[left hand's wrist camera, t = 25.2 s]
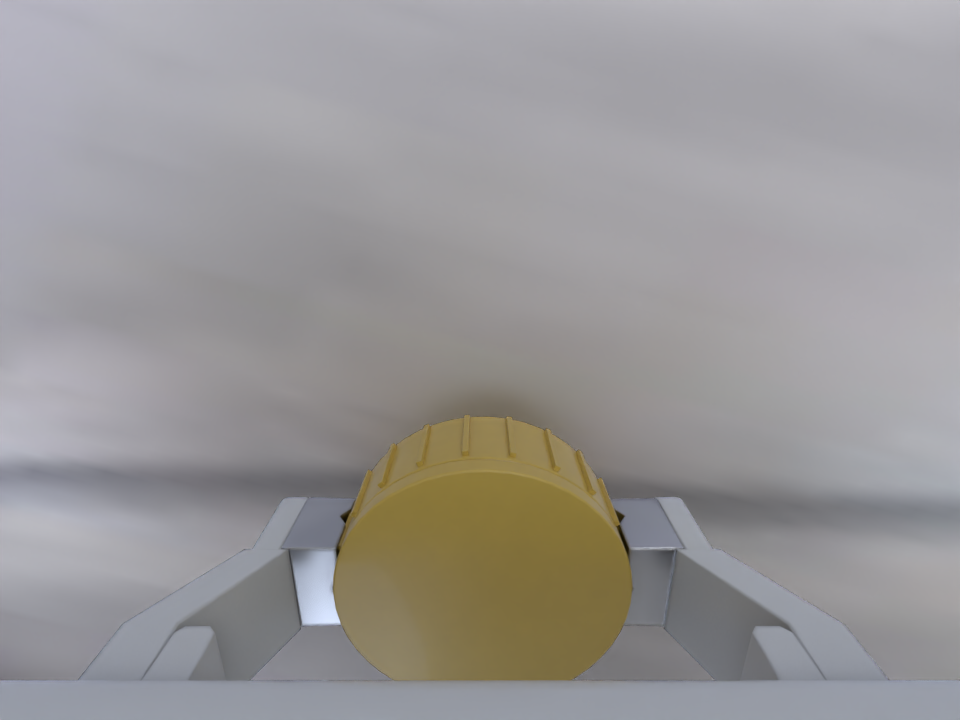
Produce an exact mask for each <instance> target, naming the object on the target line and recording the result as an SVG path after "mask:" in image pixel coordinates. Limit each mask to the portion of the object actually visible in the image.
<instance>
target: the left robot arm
mask: <svg viewBox="0 0 960 720" xmlns="http://www.w3.org/2000/svg"><path fill="white" fill-rule="evenodd" d="M610 500H611V502H612V505H613V507H614V510H615V512H616V515H617V517H618V520H619V522H620V525H618V527H619V534H620V537H621V540H622V543H623V545H624V547H625V550H626V553H627V555H628V559H629V563H630V567H631V572H632V596H631V604H630V608H629V611H628V615H627V618H626V621H625V623H624V625H634V626H664V629H665V630H666V631H667V632H668V633H669V634H670V635H671V636H672V637H673V638H674V639H675V640H676V641H677V642H678V643H679V644H680V645H681V646H682V647H683V648H684V649H685V650H686V651H687V652H688V653H689V654H690V655H691V656H692V657H693V658H694V659H695V660H696V661H697V662H698V663H699V664H700V665H701V666H702V667H703V668H704V669H705V670H706V671H707V672H708V673H709V674H710V675H711V676H712V677H713V678H714V679H715V680H716V681H680V680H416V681H250V680H251V679H252V678H253V677H254V676H255V675H256V674H257V673H258V672H259V671H260V670H261V669H262V668H263V667H264V666H265V665H266V664H267V663H268V661H269V660H270V659H271V658H272V657H273V656H274V655H275V654H276V653H277V652H278V651H279V650H280V649H281V648H282V647H283V646H284V645H285V644H286V643H287V642H288V641H289V640H290V639H291V638H292V637H293V636H294V635H295V634H296V633H297V632H298V631H299V630H300V629H301V627H300V626H330V625H341V623H340V620H339V617H338V614H337V611H336V608H335V602H334V595H333V575H334V569H335V564H336V560H337V557H338V554H339V552H340V550H339V544H340V541H341V539H342V536H343V533H344V531H345V528H346V525H345V524H346V521H347V519H348V516H349V513H351V511H352V509H353V506H354V503H355V501H356V498H321V497H311V498H309V497H287V498H285V499H283V500H282V501H281V502H280V504H279V506H278V507H277V509H276V511H275V512H274V514H273V516H272V517H271V519H270V520H269V522H268V524H267V525H266V527H265V529H264V530H263V532H262V534H261V535H260V537H259V539H258V540H257V542H256V543H255V545H254V547H253V548H252V549H244V550H243V551H241V552H239V553H238V554H236V555H234V556H233V557H231V558H230V559H228V560H226V561H225V562H223V563H221V564H220V565H218V566H216V567H215V568H213V569H211V570H210V571H208V572H207V573H205V574H203V575H202V576H200V577H198V578H197V579H195V580H193V581H192V582H190V583H189V584H187V585H185V586H184V587H182V588H180V589H179V590H177V591H175V592H174V593H172V594H171V595H169V596H167V597H166V598H164V599H162V600H161V601H159V602H157V603H156V604H154V605H152V606H151V607H149V608H148V609H146V610H144V611H143V612H141V613H139V614H138V615H136V616H134V617H133V618H131V619H130V620H128V621H126V622H125V623H123V624H122V625H121V626H120V627H119V629H118V630H117V631H116V633H115V634H114V635H113V636H112V638H111V639H110V640H109V641H108V643H107V644H106V645H105V646H104V648H103V649H102V650H101V651H100V653H99V654H98V655H97V656H96V658H95V659H94V660H93V661H92V663H91V664H90V665H89V667H88V668H87V669H86V670H85V672H84V673H83V674H82V675H81V677H80V678H79V679H78V680H0V720H960V680H889V679H888V678H887V676H886V675H885V674H884V673H883V671H882V670H881V669H880V668H879V666H878V665H877V664H876V663H875V661H874V660H873V659H872V658H871V656H870V655H869V654H868V653H867V651H866V650H865V649H864V648H863V646H862V645H861V644H860V643H859V641H858V640H857V639H856V638H855V637H854V635H853V634H852V633H851V632H850V630H849V629H848V628H847V627H846V625H845V624H843V623H841V622H840V621H838V620H836V619H835V618H833V617H831V616H830V615H828V614H827V613H825V612H823V611H822V610H820V609H818V608H817V607H815V606H813V605H812V604H810V603H808V602H807V601H805V600H803V599H802V598H800V597H798V596H797V595H795V594H794V593H792V592H790V591H789V590H787V589H785V588H784V587H782V586H780V585H779V584H777V583H775V582H774V581H772V580H770V579H769V578H767V577H766V576H764V575H762V574H761V573H759V572H757V571H756V570H754V569H752V568H751V567H749V566H747V565H746V564H744V563H742V562H741V561H739V560H737V559H736V558H734V557H733V556H731V555H729V554H728V553H726V552H724V551H723V550H721V549H713V548H712V547H711V545H710V543H709V542H708V540H707V539H706V537H705V535H704V534H703V532H702V531H701V529H700V527H699V526H698V524H697V523H696V521H695V520H694V518H693V516H692V515H691V513H690V512H689V510H688V508H687V507H686V505H685V504H684V502H683V500H682V499H680V498H679V497H658V498H635V499H610Z"/></svg>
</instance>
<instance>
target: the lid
mask: <svg viewBox="0 0 960 720" xmlns="http://www.w3.org/2000/svg"><path fill="white" fill-rule="evenodd" d="M345 525H346V528H345V531H344V533H343V536H342V539H341V541H340V544H339V550H340V552H339V554H338V557H337V560H336V564H335V569H334V575H333V595H334V602H335V608H336V611H337V614H338V617H339V620H340V623H341V625H342V627H343V629H344V631H345V633H346V635H347V637H348V638H349V640H350V641H351V642H352V644H353V645H354V647H355V648H356V649H357V651H358V652H359V653H360V654H361V655H362V656H363V657H364V658H365V659H366V660H367V661H368V662H369V663H370V664H372V665H373V666H374V667H375V668H376V669H378V670H379V671H380V672H382V673H383V674H385V675H386V676H388V677H389V678H391V679H392V680H394V681H416V680H572V679H574V678H576V677H577V676H579V675H580V674H582V673H583V672H584V671H586V670H587V669H589V668H590V667H591V666H592V665H593V664H594V663H596V662H597V661H598V660H599V659H600V658H601V657H602V656H603V655H604V654H605V653H606V651H607V650H608V649H609V648H610V647H611V646H612V644H613V643H614V641H615V639H616V638H617V636H618V635H619V633H620V632H621V629H622V627H623V625H624V623H625V621H626V618H627V615H628V611H629V608H630V604H631V596H632V572H631V567H630V563H629V559H628V555H627V553H626V550H625V547H624V545H623V543H622V540H621V537H620V534H619V527H618V525H620V522H619V520H618V517H617V515H616V512H615V510H614V507H613V505H612V502H611V500H610V497H609V495H608V492H607V490H606V487H605V485H604V482H603V480H602V478H599V479H597V477H596V476H595V474H594V472H593V471H592V469H591V467H590V466H589V465H588V464H587V463H586V461H585V459H584V456H583V453H582V452H581V451H580V450H577V451H575V450H574V449H573V448H572V447H570V446H569V445H568V444H567V443H565V442H564V441H562V440H561V439H559V438H558V437H556V436H555V435H553V434H552V433H551V430H549V429H547V428H546V429H545V430H543V429H541V428H539V427H536V426H533V425H530V424H527V423H524V422H521V421H516V420H512V417H508V416H507V417H506V418H498V417H488V416H487V417H470V415H464V418H459V419H452V420H448V421H445V422H441V423H437V424H434V425H432V426H430V425H429V424H427V425H424V427H423V429H422V430H419V431H418V432H416V433H414V434H412V435H410V436H409V437H407V438H405V439H404V440H402V441H401V442H400V443H398V444H397V445H396V444H395V443H393V444H392V445H390V448H389V451H388V452H387V453H386V454H385V455H384V456H383V457H382V458H381V459H380V461H379V462H378V463H377V465H376V466H375V467H374V469H373V470H372V471H370V470H368V471H367V472H366V474H365V477H364V480H363V482H362V485H361V487H360V490H359V493H358V495H357V498H356V501H355V503H354V506H353V509H352V511H351V513H349V516H348V519H347V521H346V524H345Z"/></svg>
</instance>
